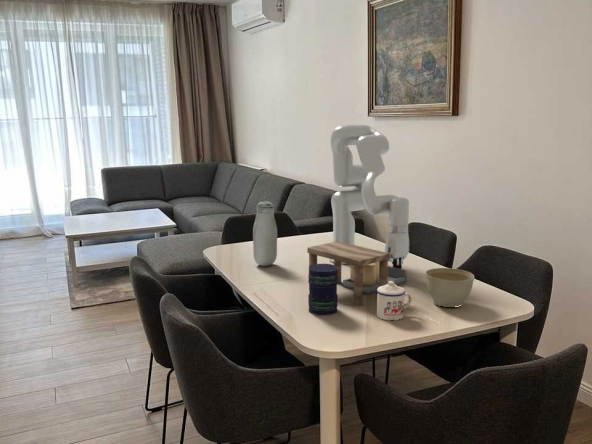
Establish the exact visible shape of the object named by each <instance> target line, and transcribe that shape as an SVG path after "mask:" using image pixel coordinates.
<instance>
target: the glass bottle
mask: <svg viewBox="0 0 592 444" xmlns="http://www.w3.org/2000/svg"><path fill="white" fill-rule="evenodd" d="M274 211H275V207H274V204H273V203H272V202H271V201H266V200H265V201H261V202H259V203H257V205H256V214H255V219H254V222H253V226H252V243H253V244H252V245H253V259H254V262H255V263H256V264H257V265H259V266H262V267H267V266H268V267H269V266H272V265H273V264H274V263H275V262H276V260H277V255H278V227H277V223H276V219H275V212H274Z"/></svg>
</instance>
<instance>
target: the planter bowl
mask: <svg viewBox="0 0 592 444" xmlns="http://www.w3.org/2000/svg"><path fill="white" fill-rule="evenodd" d="M474 280H475V274H473V273H472V272H470V271H467V270H462V269H458V268H451V267H435V268H431V269H427V270H426V271H425V282H426V288H427V291H428V293H429V295H430V297H431V298H432V299H433V304H434V303H435V304H434V305H435V306H437V305H439V306H438V307H440V306H444V307H443V308H445V307H455V306H459V305H461V304H462V305H463V303H464V302H465V301H466V299H468V297H469V295H470V294H471V291H472V289H473V284H474Z"/></svg>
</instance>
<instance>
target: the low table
mask: <svg viewBox="0 0 592 444" xmlns="http://www.w3.org/2000/svg"><path fill="white" fill-rule="evenodd" d="M306 250H307V251H306V252H307V253H308V267H309V266H311V265H314V264H318V257H322V258H326V259H332V260H334V263H333V265H335V266H337V267H338V284H342V265H343V264H342V262H343V263H347V265H350V266H351V265H354V290H353V305H354V306H356V305H357V306H358V307H359V305H361V306H362V305H363V303H364V301H363V300H364V299H363V298H364V297H363V296H364V295H363V294H364V293H363V266H364V265H368V264H372V263H376V262H379V287H380V286H384V285H386V284H387V277H388V266H389V261H388V259H390V253H386V252H385V251H381V250H377V249H372V248H368V247H365V246H364V247H363V246H359V245H355V244H354V245H352V244H348V243H344V242H339V241H336V242H333V241H332V242H327V243H323V244H318V245H313V246H308V247H307V249H306Z"/></svg>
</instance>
